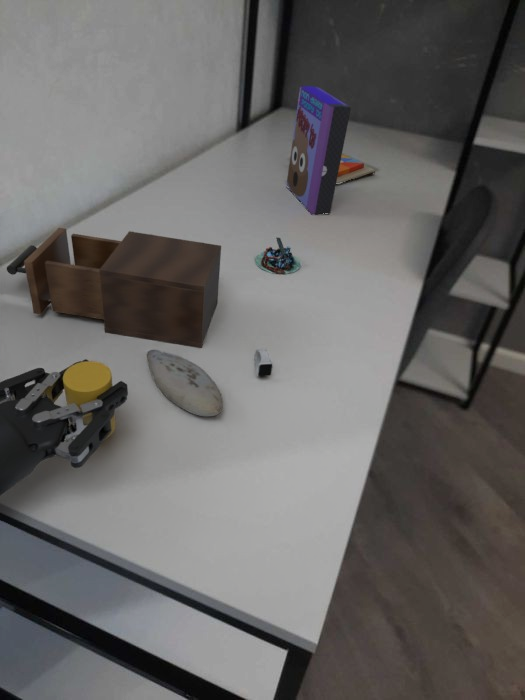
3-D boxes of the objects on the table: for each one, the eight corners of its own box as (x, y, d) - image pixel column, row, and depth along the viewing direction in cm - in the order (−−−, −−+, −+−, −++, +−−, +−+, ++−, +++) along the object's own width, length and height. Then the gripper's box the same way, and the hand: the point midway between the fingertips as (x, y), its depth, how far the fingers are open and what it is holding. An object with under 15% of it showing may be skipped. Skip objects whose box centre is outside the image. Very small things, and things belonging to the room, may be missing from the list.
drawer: (5, 308, 79) (-7, 256, 73) (40, 272, 88) (32, 223, 83) (121, 327, 78) (117, 276, 73) (144, 288, 87) (142, 240, 82)
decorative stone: (166, 353, 76) (166, 334, 74) (237, 411, 68) (240, 392, 66) (130, 369, 73) (129, 350, 70) (202, 433, 65) (203, 413, 63)
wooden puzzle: (287, 165, 148) (289, 153, 146) (331, 157, 159) (333, 145, 157) (333, 186, 139) (335, 173, 137) (376, 175, 150) (379, 163, 148)
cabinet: (105, 332, 78) (99, 269, 72) (132, 289, 89) (129, 231, 82) (201, 348, 78) (204, 286, 71) (217, 303, 88) (221, 245, 82)
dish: (310, 258, 99) (281, 233, 97) (288, 288, 99) (258, 263, 97) (296, 257, 107) (268, 234, 104) (275, 285, 107) (247, 262, 104)
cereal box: (286, 186, 135) (300, 85, 120) (303, 186, 137) (319, 86, 122) (311, 214, 122) (330, 105, 108) (329, 214, 124) (351, 106, 109)
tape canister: (63, 439, 59) (53, 387, 54) (80, 408, 63) (73, 357, 58) (106, 446, 59) (101, 395, 54) (122, 415, 63) (118, 364, 58)
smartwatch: (251, 365, 76) (254, 343, 74) (265, 364, 77) (268, 342, 74) (256, 381, 73) (259, 360, 71) (271, 380, 74) (275, 359, 72)
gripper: (7, 485, 42) (153, 380, 54) (-92, 404, 48) (60, 324, 60) (23, 536, 47) (154, 429, 59) (-69, 457, 52) (68, 374, 64)
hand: (106, 377), depth 59 cm, fingers closed on tape canister, 5 cm apart
